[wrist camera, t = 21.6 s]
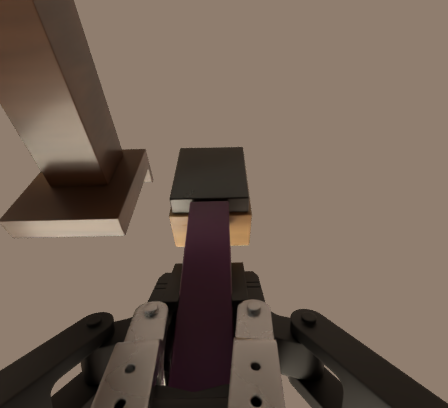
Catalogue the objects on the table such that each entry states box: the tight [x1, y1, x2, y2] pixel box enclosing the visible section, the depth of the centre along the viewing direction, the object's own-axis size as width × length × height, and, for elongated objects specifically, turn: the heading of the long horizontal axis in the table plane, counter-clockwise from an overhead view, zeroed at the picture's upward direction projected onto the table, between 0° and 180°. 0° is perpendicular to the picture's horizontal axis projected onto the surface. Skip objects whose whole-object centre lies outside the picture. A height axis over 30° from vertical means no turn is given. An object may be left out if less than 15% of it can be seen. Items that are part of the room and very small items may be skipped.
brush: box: [168, 147, 252, 392], centre depth 15 cm, size 16×5×4 cm, turn 179°
